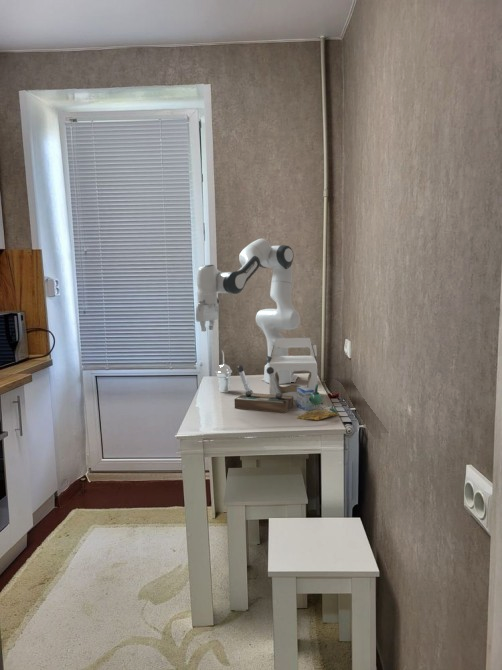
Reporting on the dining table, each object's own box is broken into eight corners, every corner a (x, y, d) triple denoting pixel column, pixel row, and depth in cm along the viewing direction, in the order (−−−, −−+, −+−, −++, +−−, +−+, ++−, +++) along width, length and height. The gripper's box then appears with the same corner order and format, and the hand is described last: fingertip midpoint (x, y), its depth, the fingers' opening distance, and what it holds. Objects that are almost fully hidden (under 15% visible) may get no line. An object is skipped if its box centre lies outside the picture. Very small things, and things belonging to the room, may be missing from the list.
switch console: (245, 401, 220) (245, 391, 220) (294, 405, 212) (294, 395, 211) (234, 408, 209) (234, 397, 209) (286, 412, 201) (286, 402, 200)
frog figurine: (343, 421, 188) (339, 384, 186) (297, 426, 189) (293, 390, 187) (339, 413, 198) (335, 378, 196) (296, 418, 199) (291, 384, 197)
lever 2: (277, 398, 209) (266, 367, 209) (284, 396, 208) (273, 365, 208) (275, 400, 206) (264, 368, 207) (282, 398, 205) (271, 366, 205)
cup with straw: (213, 392, 237) (211, 352, 234) (219, 388, 245) (218, 349, 243) (229, 393, 234) (228, 353, 231) (235, 389, 243) (234, 350, 240)
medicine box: (296, 406, 210) (296, 386, 209) (305, 404, 212) (305, 385, 211) (305, 410, 203) (305, 390, 202) (314, 409, 205) (314, 389, 203)
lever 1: (248, 395, 215) (237, 365, 215) (254, 393, 213) (243, 363, 213) (245, 397, 212) (234, 367, 212) (251, 395, 210) (240, 365, 210)
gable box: (316, 393, 232) (316, 335, 228) (318, 400, 218) (317, 339, 215) (270, 393, 234) (269, 336, 230) (269, 400, 220) (268, 340, 217)
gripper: (205, 300, 209) (205, 332, 211) (220, 299, 229) (221, 328, 230) (191, 300, 211) (192, 332, 212) (208, 300, 231) (208, 328, 232)
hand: (207, 330), depth 221 cm, fingers open, 8 cm apart
